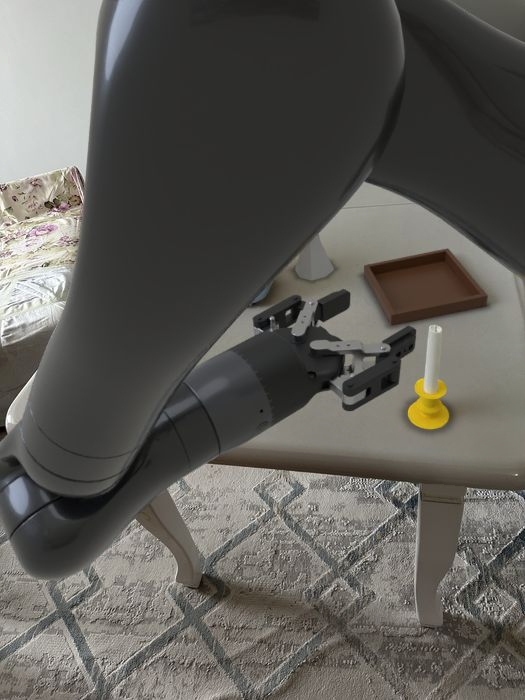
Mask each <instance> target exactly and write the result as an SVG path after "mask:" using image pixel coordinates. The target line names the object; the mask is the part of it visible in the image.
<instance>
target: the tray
mask: <svg viewBox="0 0 525 700" xmlns="http://www.w3.org/2000/svg"><path fill="white" fill-rule="evenodd" d="M363 276H364V278H365V280H366V282H367V284H368V286H369V287H370V290H371V291H372V293H373V295H374V297H375V299H376V301H377V302H378V304H379V306H380V308H381V310H382V313H384V316H385V317H386V320H387V321H388V323H389V325H390V326H391V327H393V326H397V325H402V324H407V323H412V322H417V321H422V320H427V319H432V318H437V317H442V316H446V315H451V314H456V313H461V312H466V311H471V310H476V309H477V310H478V309H482V308H487V303H488V297H489V295H488V294H487V293H486V292H485V290H484V289H483V288H482V287H481V285H480V284H479V283H478V282H477V281H476V280H475V278H474V277H473V276H472V275H471V273H470V272H469V271H468V270H467V269H466V267H465V266H464V265H463V264H462V263H461V262H460V261H459V259H458V258H457V257H456V256H455V255H454V254H453V252H452V251H451V250H450V249H449V248H443V249H437V250H432V251H428V252H422V253H418V254H413V255H408V256H402V257H397V258H394V259H388V260H383V261H378V262H373V263H368V264H364V265H363Z"/></svg>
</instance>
